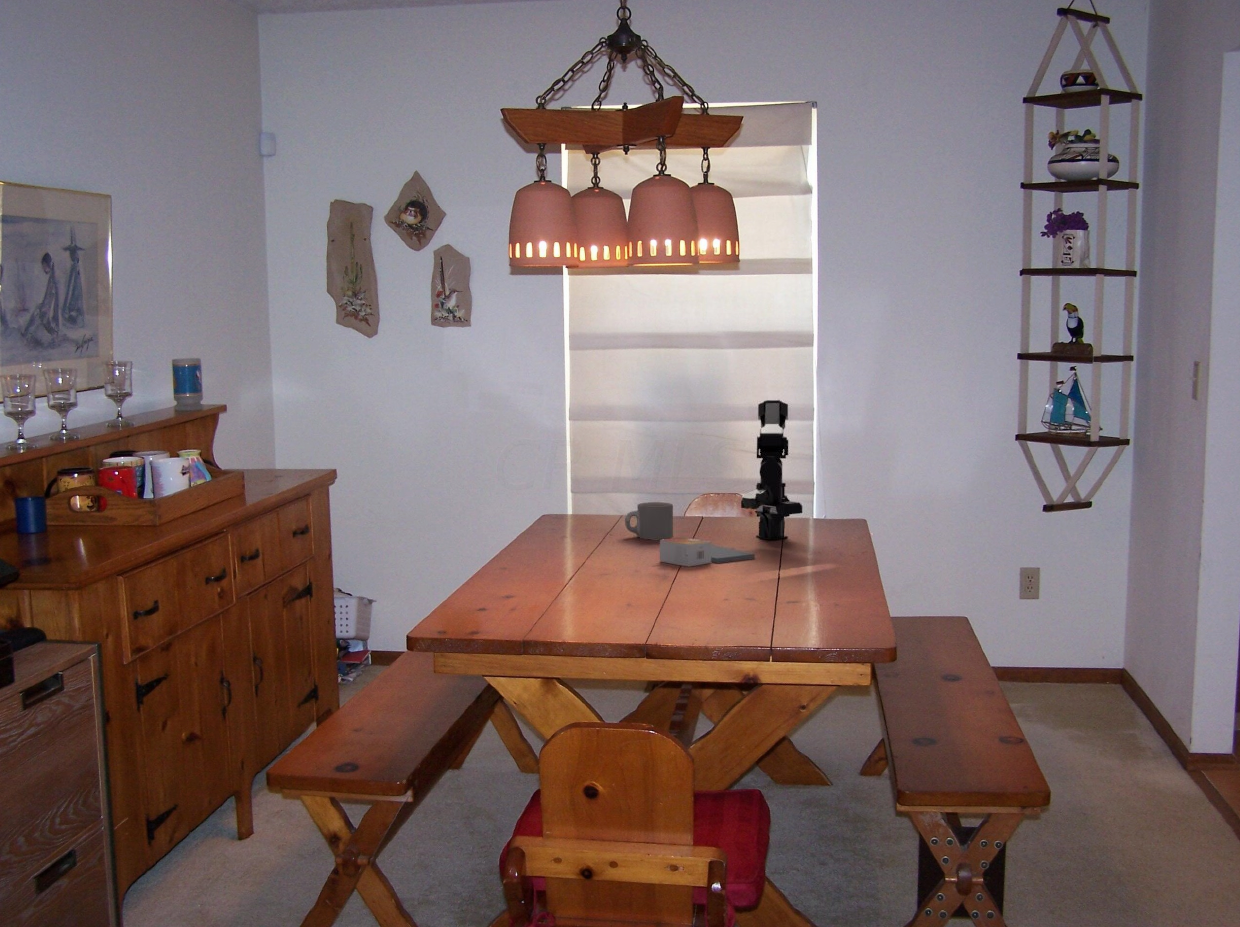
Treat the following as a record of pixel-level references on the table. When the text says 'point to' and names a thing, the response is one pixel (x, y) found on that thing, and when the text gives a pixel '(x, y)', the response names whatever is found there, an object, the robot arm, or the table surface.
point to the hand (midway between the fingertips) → (771, 537)
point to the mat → (728, 554)
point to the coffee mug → (652, 520)
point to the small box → (685, 551)
